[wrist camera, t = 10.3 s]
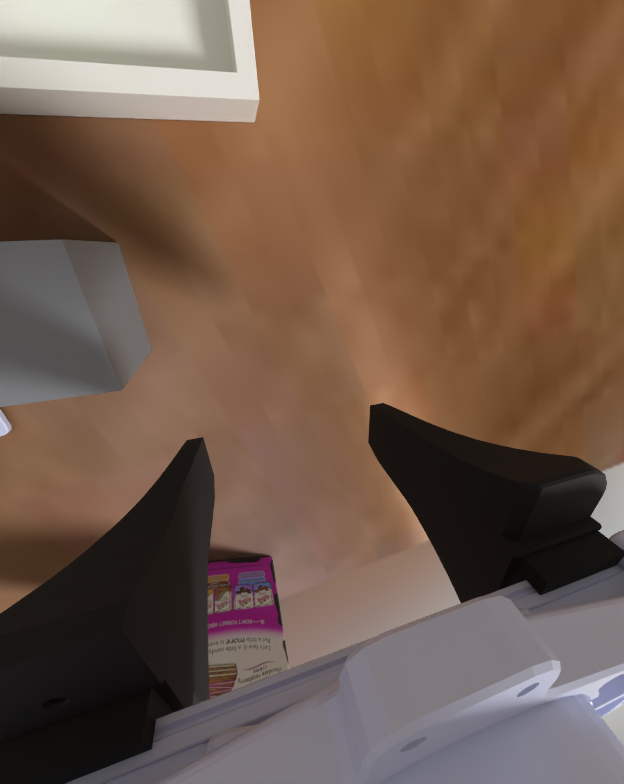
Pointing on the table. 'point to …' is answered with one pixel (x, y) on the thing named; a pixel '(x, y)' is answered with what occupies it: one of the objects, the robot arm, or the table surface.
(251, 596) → the candy bar box
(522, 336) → the table surface
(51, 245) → the gray block
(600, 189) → the table surface
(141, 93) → the tray
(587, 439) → the table surface
